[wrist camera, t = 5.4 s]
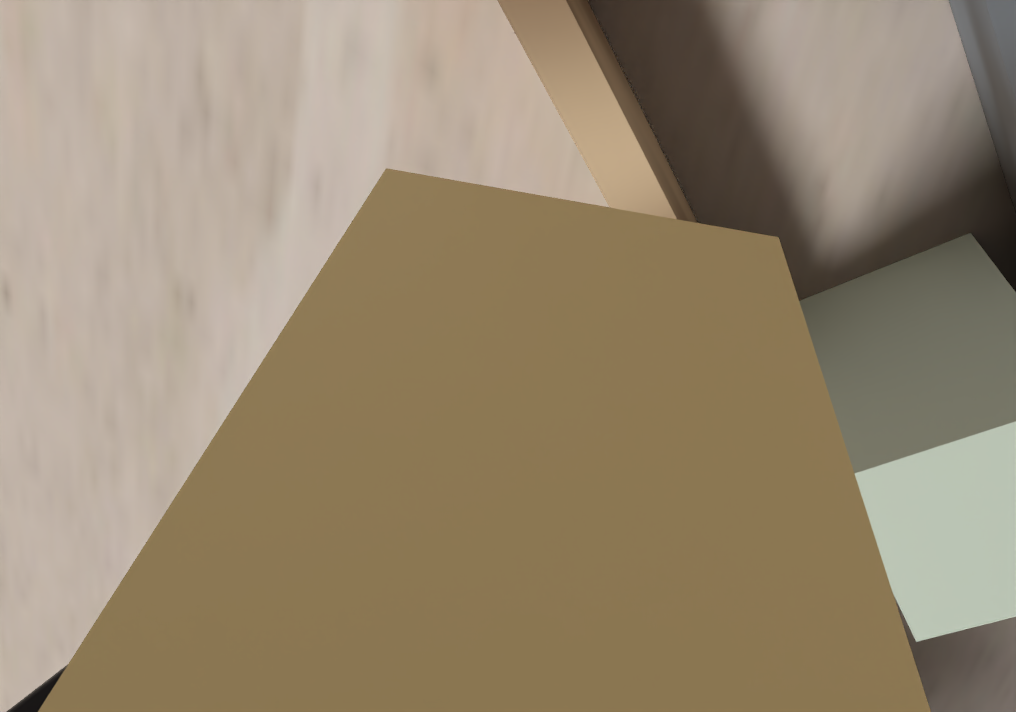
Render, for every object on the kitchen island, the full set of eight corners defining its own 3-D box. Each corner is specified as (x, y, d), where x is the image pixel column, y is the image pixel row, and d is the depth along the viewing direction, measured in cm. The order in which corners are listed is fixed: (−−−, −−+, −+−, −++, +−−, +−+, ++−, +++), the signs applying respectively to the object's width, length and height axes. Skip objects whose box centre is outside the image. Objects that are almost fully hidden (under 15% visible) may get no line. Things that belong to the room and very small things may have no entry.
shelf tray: (1148, 410, 21) (1207, 482, 19) (800, 519, 24) (817, 591, 21) (926, -409, 14) (980, -443, 12) (469, -111, 16) (446, -96, 14)
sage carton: (1026, 387, 21) (1154, 581, 16) (850, 446, 22) (916, 642, 17) (973, 230, 19) (1099, 394, 14) (785, 306, 20) (837, 479, 15)
